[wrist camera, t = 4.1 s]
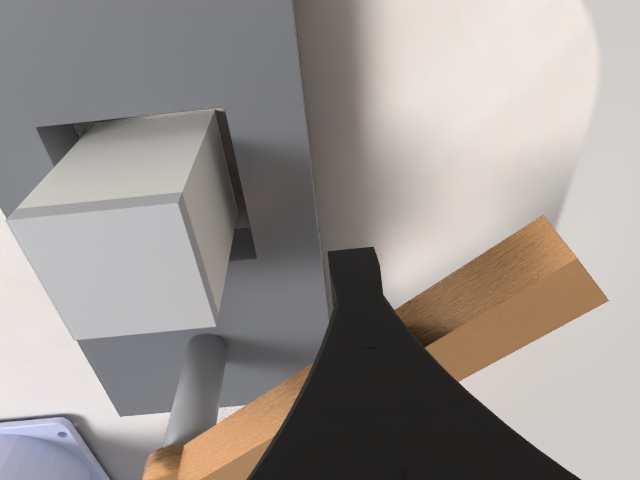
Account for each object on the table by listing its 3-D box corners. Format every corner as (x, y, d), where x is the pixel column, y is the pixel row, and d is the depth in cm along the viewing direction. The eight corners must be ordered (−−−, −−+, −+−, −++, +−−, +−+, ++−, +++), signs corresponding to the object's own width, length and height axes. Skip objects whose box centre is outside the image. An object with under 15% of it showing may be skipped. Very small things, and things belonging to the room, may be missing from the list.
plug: (237, 211, 18) (216, 326, 13) (134, 222, 18) (73, 340, 13) (214, 109, 16) (177, 203, 11) (95, 122, 16) (5, 220, 11)
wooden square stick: (190, 493, 16) (181, 541, 15) (130, 466, 15) (115, 516, 14) (581, 266, 11) (617, 311, 10) (532, 201, 10) (566, 244, 9)
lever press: (334, 361, 23) (346, 506, 18) (132, 380, 23) (81, 529, 18) (283, -83, 13) (273, -73, 7) (-82, -41, 13) (-371, 1, 7)
